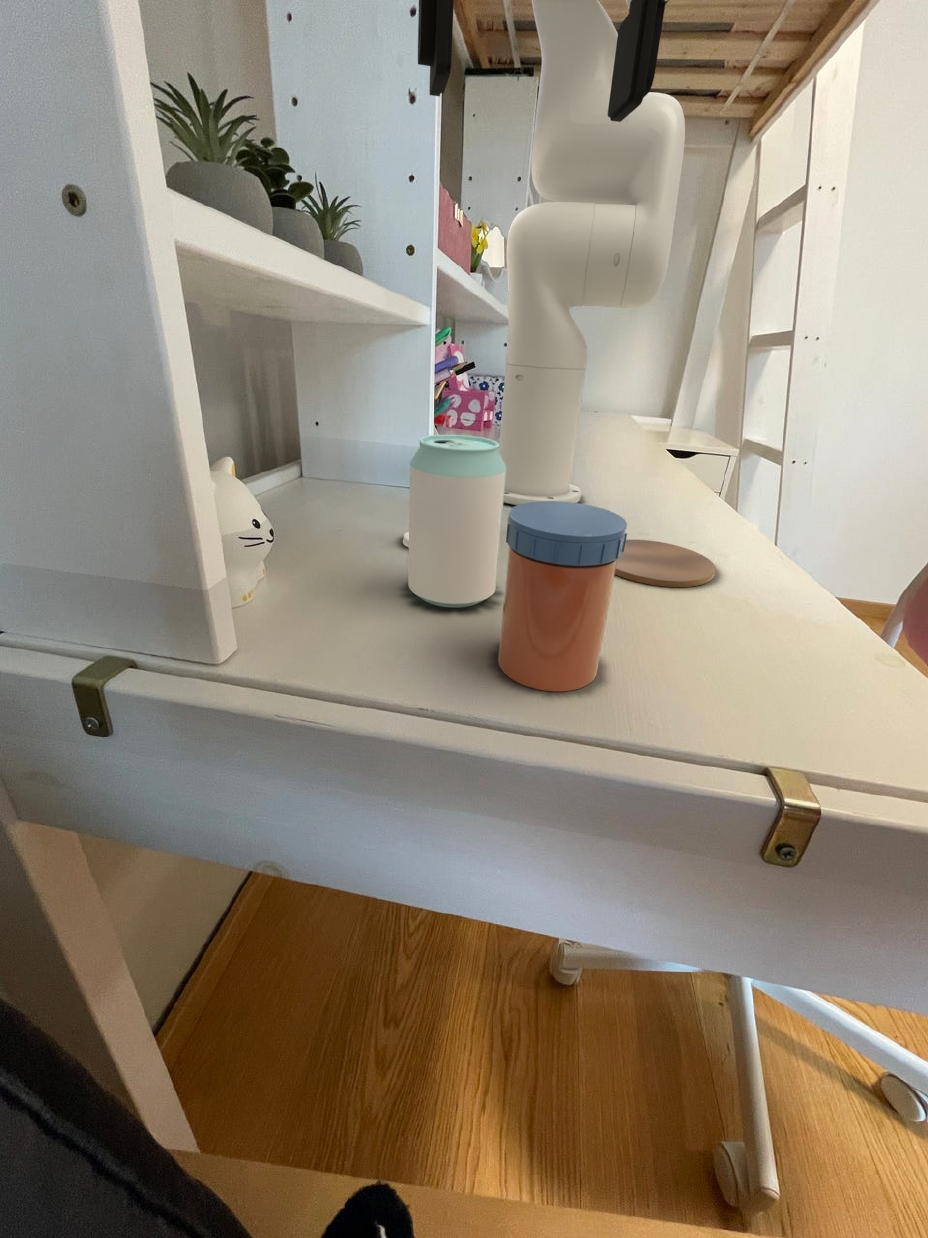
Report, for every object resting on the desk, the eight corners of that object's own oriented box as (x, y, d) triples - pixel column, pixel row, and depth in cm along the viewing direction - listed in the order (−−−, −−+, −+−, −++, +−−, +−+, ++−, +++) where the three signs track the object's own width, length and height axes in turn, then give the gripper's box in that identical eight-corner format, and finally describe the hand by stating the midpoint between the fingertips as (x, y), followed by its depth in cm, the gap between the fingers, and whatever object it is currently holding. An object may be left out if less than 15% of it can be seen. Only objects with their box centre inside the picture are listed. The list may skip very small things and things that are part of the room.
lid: (490, 529, 36) (492, 502, 36) (587, 524, 38) (591, 499, 38) (533, 569, 31) (536, 538, 30) (645, 562, 33) (651, 533, 32)
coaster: (575, 547, 59) (576, 542, 59) (668, 542, 62) (669, 536, 62) (634, 591, 50) (636, 585, 49) (740, 582, 53) (742, 576, 53)
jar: (484, 645, 40) (495, 511, 36) (569, 636, 42) (589, 507, 38) (520, 697, 34) (537, 546, 30) (615, 684, 36) (644, 540, 32)
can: (399, 606, 45) (400, 444, 39) (417, 572, 51) (420, 429, 45) (491, 616, 44) (505, 453, 39) (498, 580, 50) (511, 436, 45)
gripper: (733, -314, 27) (659, 144, 34) (355, -421, 24) (360, 103, 31) (854, -530, 20) (732, 95, 28) (352, -714, 18) (359, 37, 25)
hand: (534, 99), depth 29 cm, fingers open, 9 cm apart
